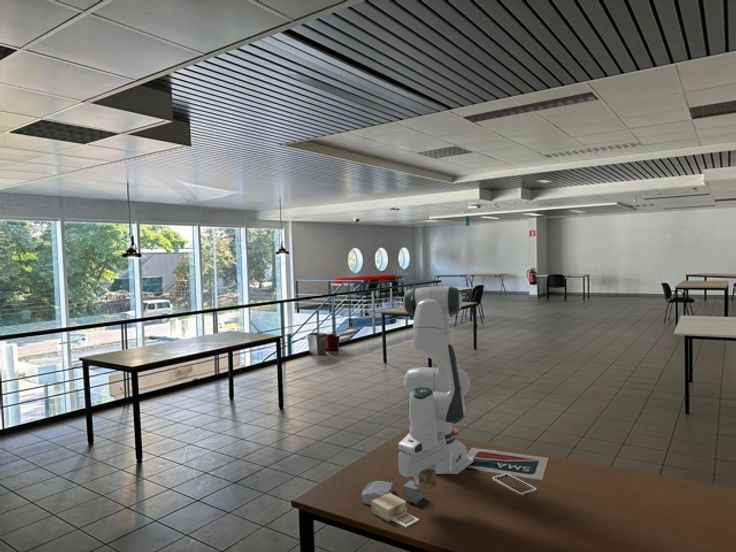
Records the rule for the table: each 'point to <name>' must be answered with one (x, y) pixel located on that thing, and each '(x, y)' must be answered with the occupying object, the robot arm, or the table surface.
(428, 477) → the walnut cube
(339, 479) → the table surface
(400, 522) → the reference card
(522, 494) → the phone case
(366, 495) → the stone block
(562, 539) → the table surface
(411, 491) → the slate cube
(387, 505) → the oak base block
